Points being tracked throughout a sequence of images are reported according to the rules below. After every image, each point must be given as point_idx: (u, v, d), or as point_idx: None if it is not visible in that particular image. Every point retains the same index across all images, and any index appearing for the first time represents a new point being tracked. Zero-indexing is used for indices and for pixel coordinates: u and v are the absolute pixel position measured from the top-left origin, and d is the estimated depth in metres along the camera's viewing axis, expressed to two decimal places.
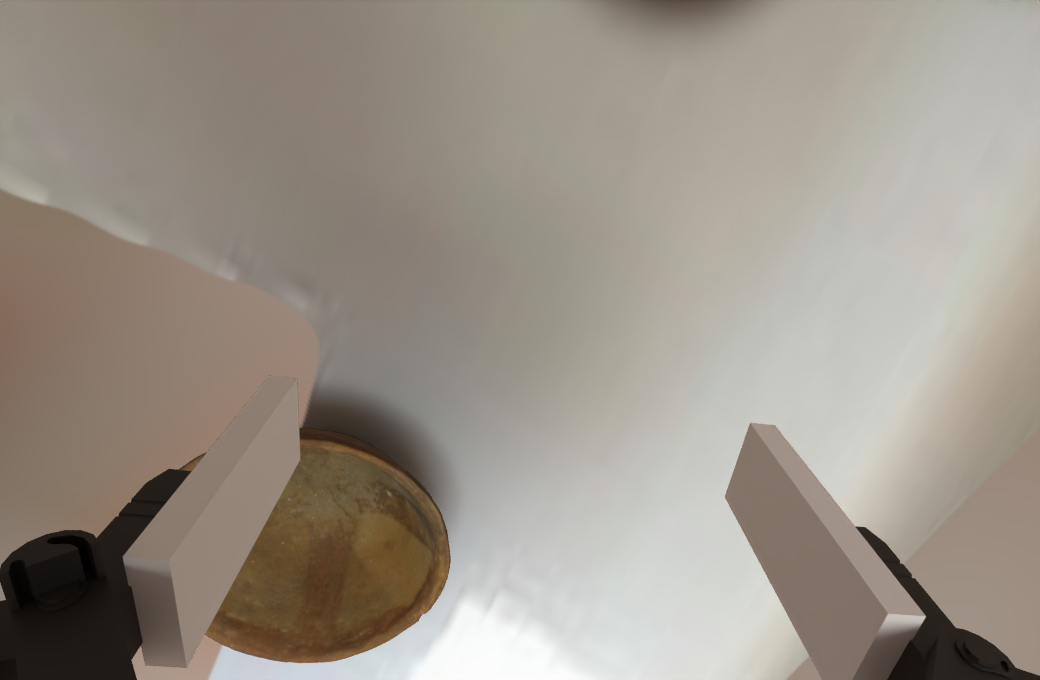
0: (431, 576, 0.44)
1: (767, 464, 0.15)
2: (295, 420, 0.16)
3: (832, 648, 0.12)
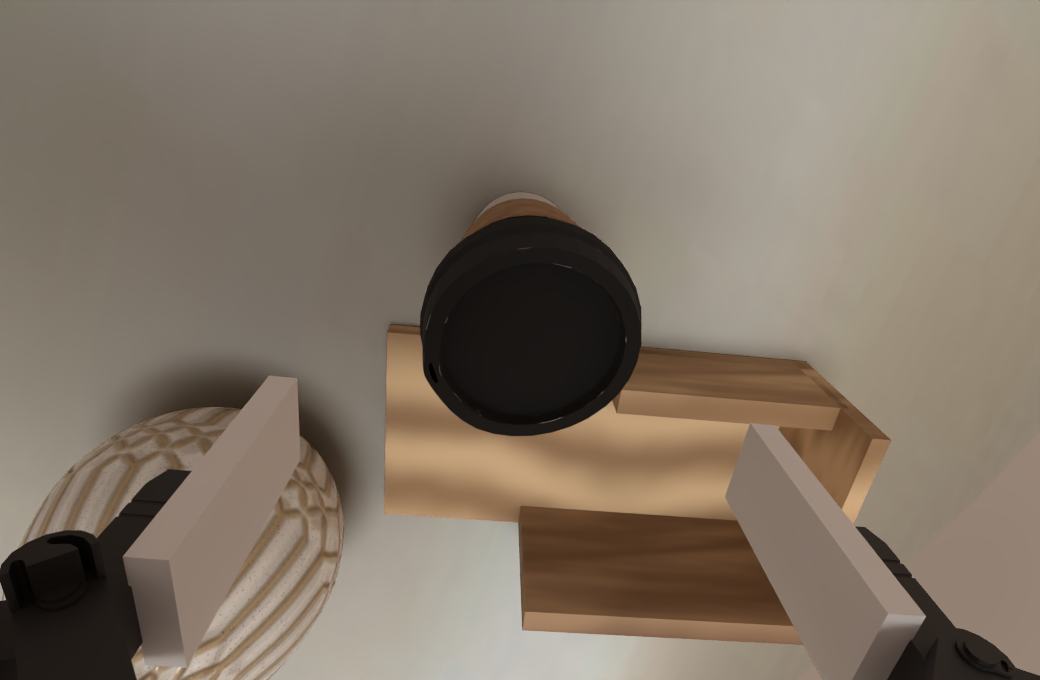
0: None
1: (768, 464, 0.15)
2: (295, 420, 0.16)
3: (832, 648, 0.12)
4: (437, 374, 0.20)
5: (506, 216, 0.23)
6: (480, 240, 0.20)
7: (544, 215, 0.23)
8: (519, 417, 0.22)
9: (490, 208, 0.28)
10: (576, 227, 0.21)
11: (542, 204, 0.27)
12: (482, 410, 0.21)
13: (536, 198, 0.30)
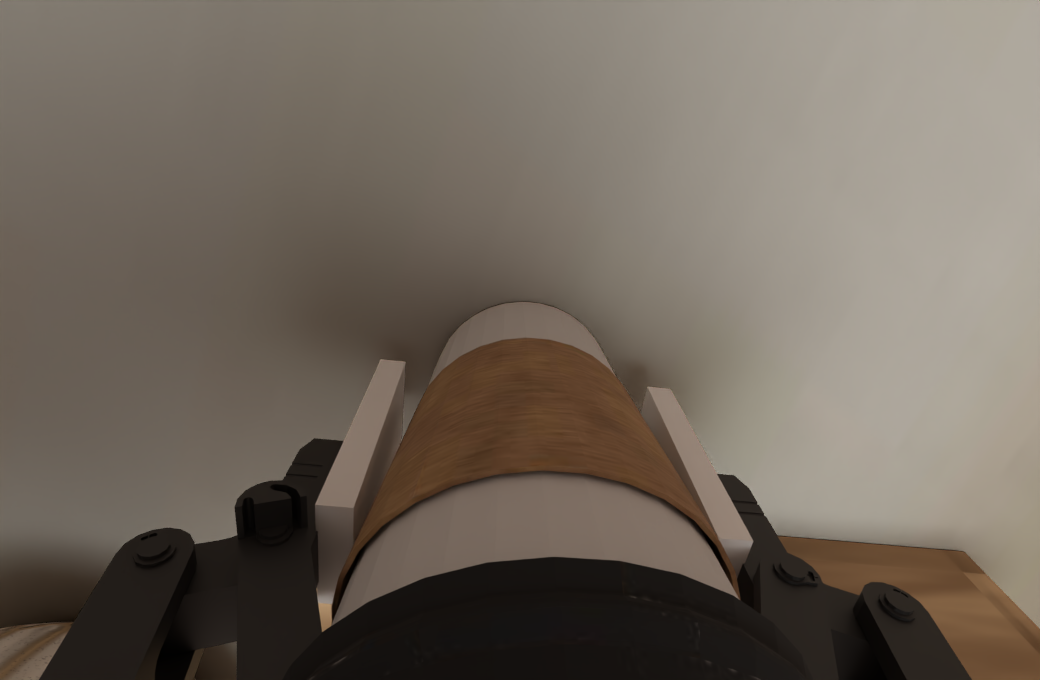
0: None
1: (656, 422, 0.17)
2: (402, 400, 0.17)
3: None
4: None
5: (489, 471, 0.09)
6: (401, 653, 0.06)
7: (583, 469, 0.09)
8: None
9: (465, 358, 0.15)
10: (688, 585, 0.07)
11: (567, 369, 0.14)
12: None
13: (551, 329, 0.16)
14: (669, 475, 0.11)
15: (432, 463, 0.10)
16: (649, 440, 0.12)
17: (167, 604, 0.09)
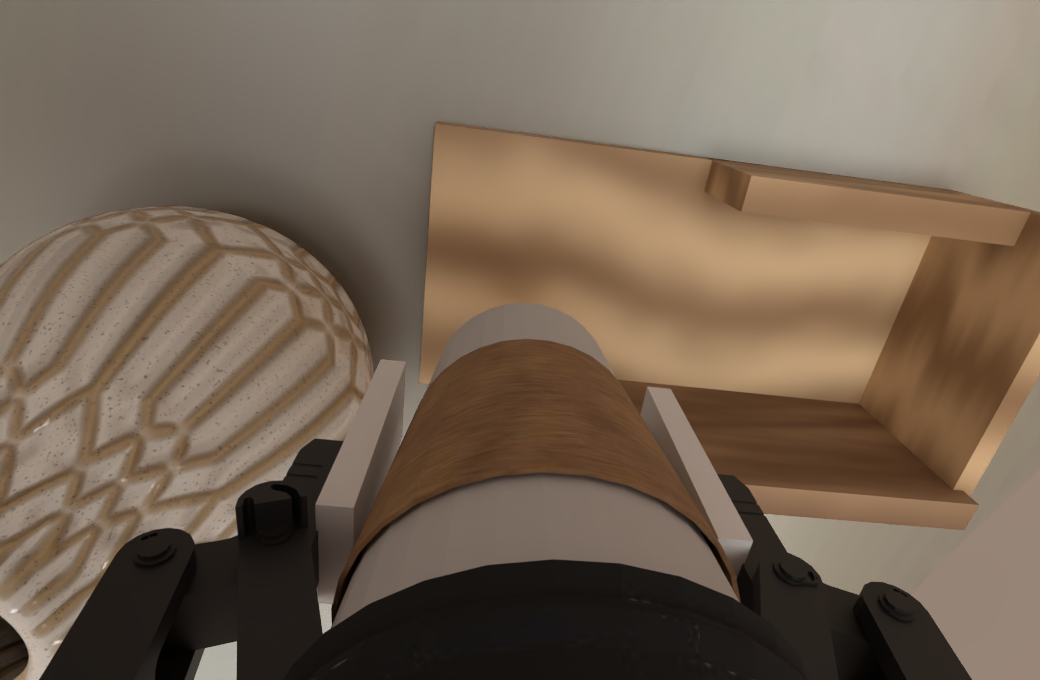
0: None
1: (656, 422, 0.17)
2: (402, 400, 0.17)
3: None
4: None
5: (489, 474, 0.09)
6: (401, 656, 0.06)
7: (583, 472, 0.09)
8: None
9: (465, 360, 0.15)
10: (687, 588, 0.07)
11: (567, 370, 0.14)
12: None
13: (551, 330, 0.16)
14: (669, 477, 0.11)
15: (432, 465, 0.10)
16: (649, 442, 0.12)
17: (167, 604, 0.09)
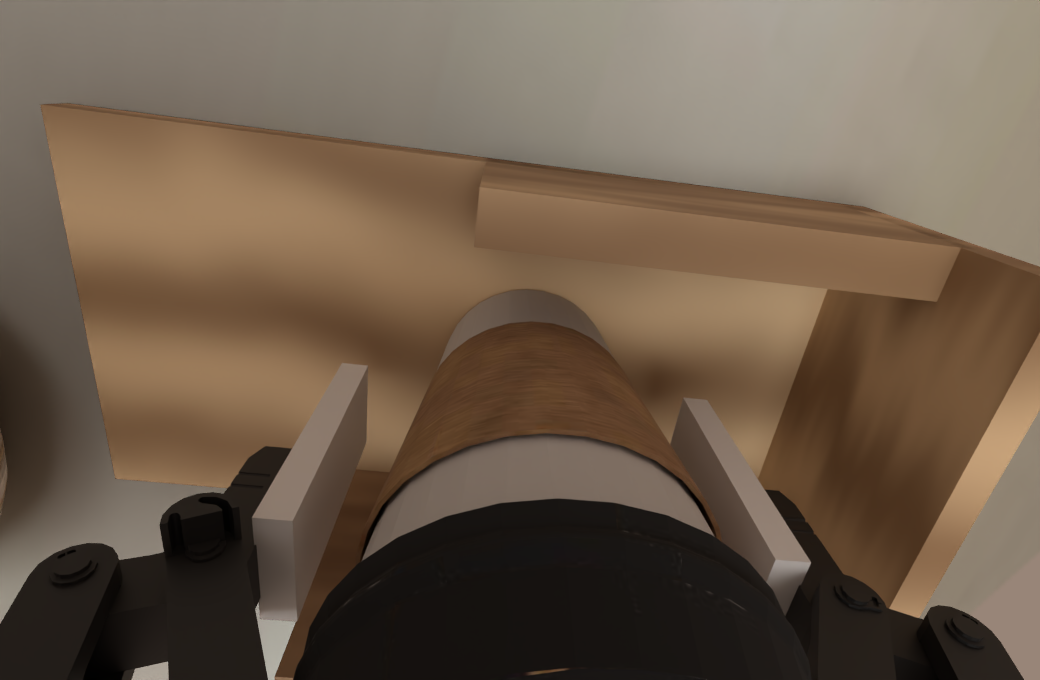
0: None
1: (695, 435, 0.16)
2: (365, 405, 0.17)
3: None
4: None
5: (500, 434, 0.10)
6: (428, 575, 0.08)
7: (583, 433, 0.10)
8: None
9: (474, 340, 0.16)
10: (673, 524, 0.08)
11: (569, 349, 0.15)
12: None
13: (554, 314, 0.18)
14: (661, 442, 0.12)
15: (447, 429, 0.11)
16: (644, 413, 0.13)
17: (90, 621, 0.09)
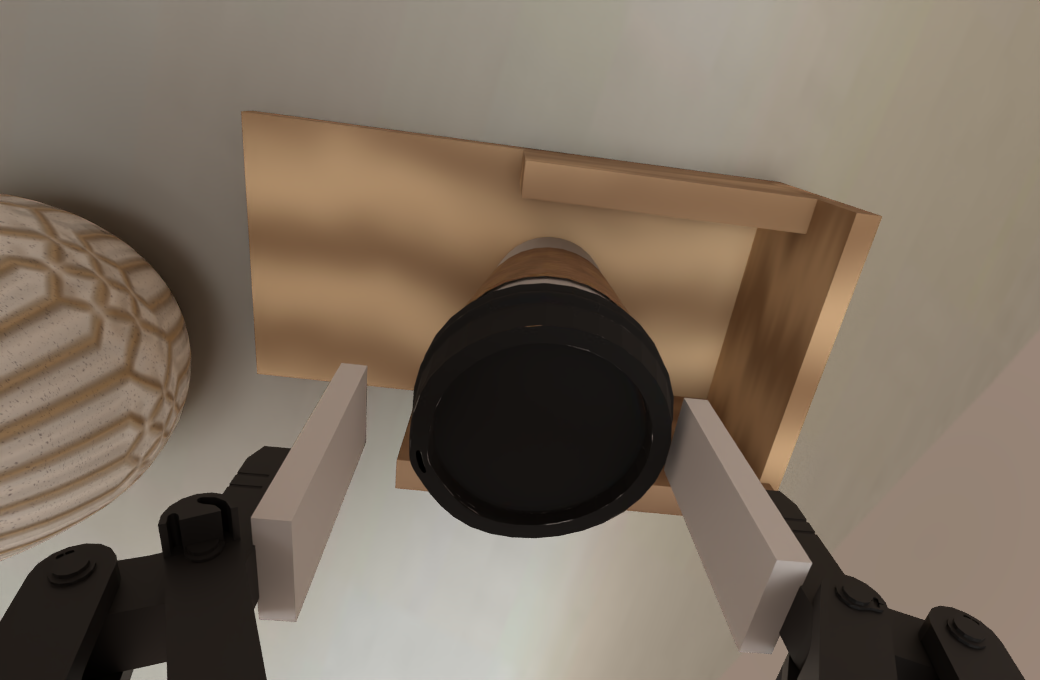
0: None
1: (695, 435, 0.16)
2: (364, 405, 0.17)
3: (737, 598, 0.13)
4: (425, 463, 0.17)
5: (522, 276, 0.20)
6: (485, 309, 0.17)
7: (566, 277, 0.20)
8: (522, 514, 0.18)
9: (512, 257, 0.26)
10: (600, 298, 0.17)
11: (569, 257, 0.24)
12: (478, 504, 0.18)
13: (565, 247, 0.27)
14: (614, 295, 0.21)
15: (494, 281, 0.21)
16: (609, 287, 0.22)
17: (89, 622, 0.09)
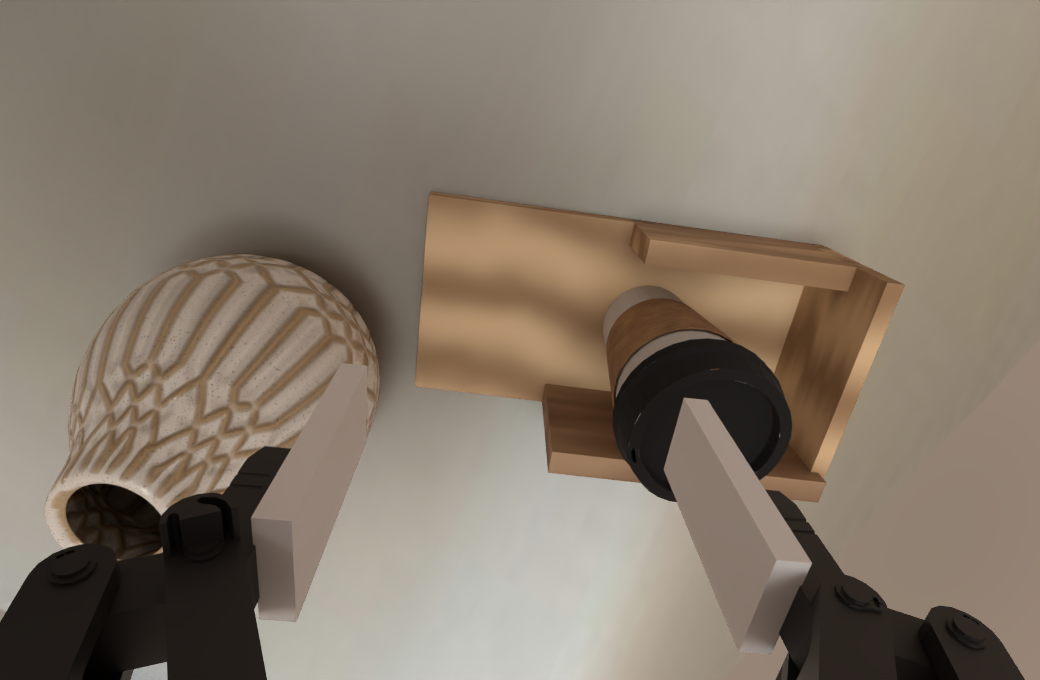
0: None
1: (695, 435, 0.16)
2: (364, 405, 0.17)
3: (737, 598, 0.13)
4: (636, 456, 0.27)
5: (676, 329, 0.29)
6: (673, 356, 0.27)
7: (705, 329, 0.29)
8: None
9: (637, 306, 0.35)
10: (742, 347, 0.27)
11: (685, 308, 0.34)
12: (662, 482, 0.28)
13: (669, 296, 0.37)
14: (730, 339, 0.31)
15: (651, 331, 0.30)
16: None
17: (90, 622, 0.09)
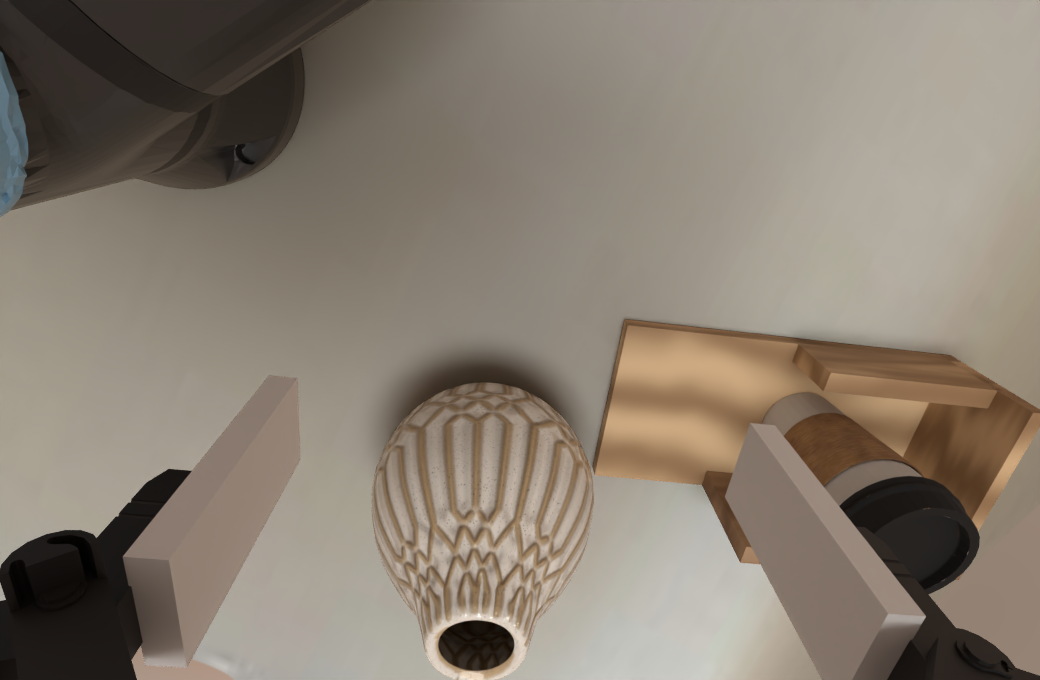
0: None
1: (768, 464, 0.15)
2: (295, 420, 0.16)
3: (832, 648, 0.12)
4: None
5: (870, 459, 0.36)
6: (884, 493, 0.33)
7: (893, 458, 0.36)
8: None
9: (809, 420, 0.42)
10: (935, 482, 0.34)
11: (856, 426, 0.40)
12: None
13: (831, 407, 0.43)
14: None
15: (844, 457, 0.37)
16: None
17: None
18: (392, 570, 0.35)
